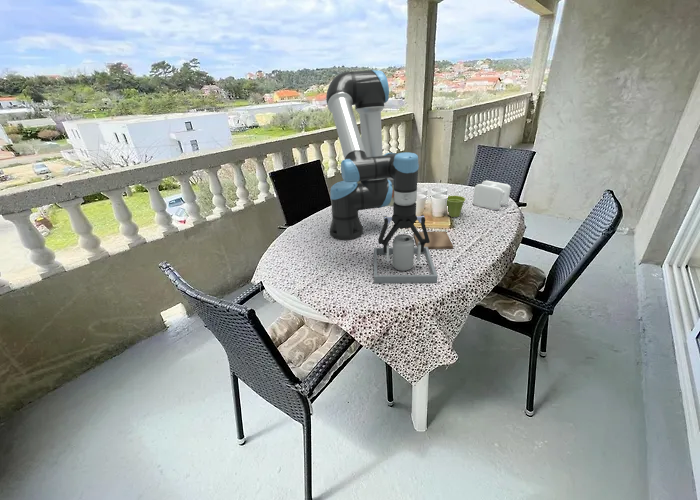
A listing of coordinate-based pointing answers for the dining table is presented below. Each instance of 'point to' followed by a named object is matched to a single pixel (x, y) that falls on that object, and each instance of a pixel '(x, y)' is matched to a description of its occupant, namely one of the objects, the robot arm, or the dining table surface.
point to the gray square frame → (405, 278)
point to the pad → (436, 240)
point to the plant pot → (455, 205)
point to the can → (403, 252)
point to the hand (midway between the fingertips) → (402, 259)
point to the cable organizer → (491, 194)
